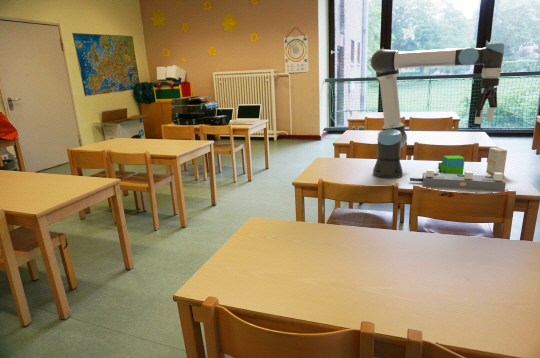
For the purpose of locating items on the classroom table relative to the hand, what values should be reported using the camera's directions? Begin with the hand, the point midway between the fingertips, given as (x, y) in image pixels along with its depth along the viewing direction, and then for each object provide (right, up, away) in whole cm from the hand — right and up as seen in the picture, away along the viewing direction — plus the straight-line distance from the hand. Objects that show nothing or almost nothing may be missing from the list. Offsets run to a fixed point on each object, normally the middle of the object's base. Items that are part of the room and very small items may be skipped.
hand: (483, 122), depth 180 cm
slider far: (-2, -29, -13) cm, 32 cm away
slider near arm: (-28, -27, -4) cm, 39 cm away
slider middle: (-13, -28, -9) cm, 32 cm away
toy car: (-10, -25, +14) cm, 31 cm away
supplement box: (+12, -25, +11) cm, 30 cm away
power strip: (-17, -31, -5) cm, 35 cm away
